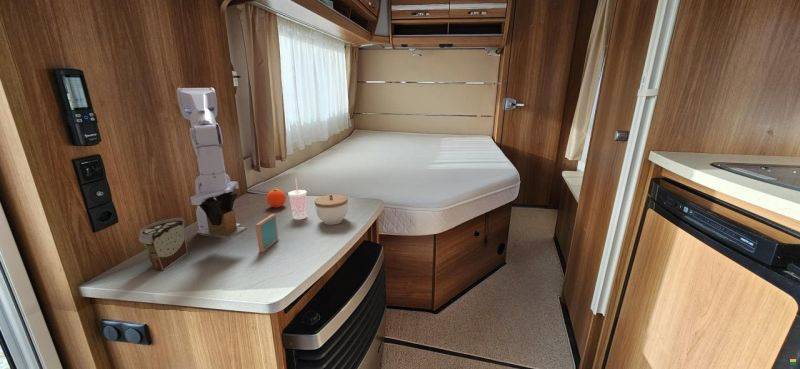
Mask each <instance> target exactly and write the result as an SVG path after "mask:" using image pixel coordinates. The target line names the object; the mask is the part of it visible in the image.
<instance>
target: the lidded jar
mask: <svg viewBox="0 0 800 369" xmlns="http://www.w3.org/2000/svg"><path fill="white" fill-rule="evenodd" d="M348 201H349V200H348V197H347V195H342V194H333V193H332V194H331V193H330V194H327V195H326V194H325V195H322V196H319V197H316V199H315V200H314V201H313V202H314V205H315V212H316V215H317V217H318V218H319V220H320V221H321V222H323V223H324V225H337V224H340V223H342V222H343V220H344V219H345V217H346V216H347V213H348V207H349V206H348V205H349V203H348Z"/></svg>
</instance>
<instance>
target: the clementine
mask: <svg viewBox="0 0 800 369" xmlns="http://www.w3.org/2000/svg"><path fill="white" fill-rule="evenodd" d="M286 198H287V196H286V194H285V192H284V191H282V190H281V189H279V188H274V189H271V190H270V191H269V192H268V193H267V194H266V202H267V205H269V206H270V207H272V208H275V209H276V208H281V207H282V206H283V205H285V203H286Z"/></svg>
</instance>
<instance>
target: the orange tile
mask: <svg viewBox="0 0 800 369" xmlns="http://www.w3.org/2000/svg"><path fill="white" fill-rule="evenodd" d="M276 218H277V217H276V214H275V213H272V214H270V215H268V216H267V217H265V218H263V219H262V220H260V221H259V222H257V223H255V224H254V225H255V232H256V236H257V237H256V238H257V245H258V250H259V252H260V253H264V252H265V251H266V250H267V249H268V248H270V247H271V246H273V245H274V244H275V243H276V242H277V241H279V233H278V227H277V225H278V224H277V219H276Z"/></svg>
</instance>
